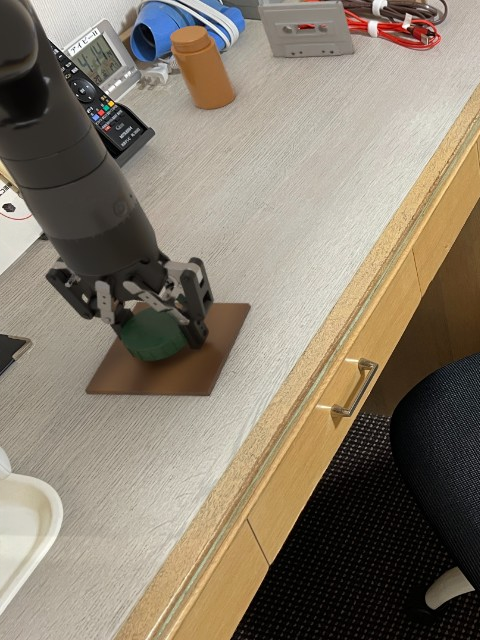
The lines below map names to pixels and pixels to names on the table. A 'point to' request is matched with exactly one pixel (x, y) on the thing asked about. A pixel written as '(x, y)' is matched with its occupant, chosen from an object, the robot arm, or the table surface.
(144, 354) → the lid
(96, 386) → the coaster
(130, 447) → the table surface
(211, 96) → the jar
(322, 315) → the table surface
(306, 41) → the cassette
